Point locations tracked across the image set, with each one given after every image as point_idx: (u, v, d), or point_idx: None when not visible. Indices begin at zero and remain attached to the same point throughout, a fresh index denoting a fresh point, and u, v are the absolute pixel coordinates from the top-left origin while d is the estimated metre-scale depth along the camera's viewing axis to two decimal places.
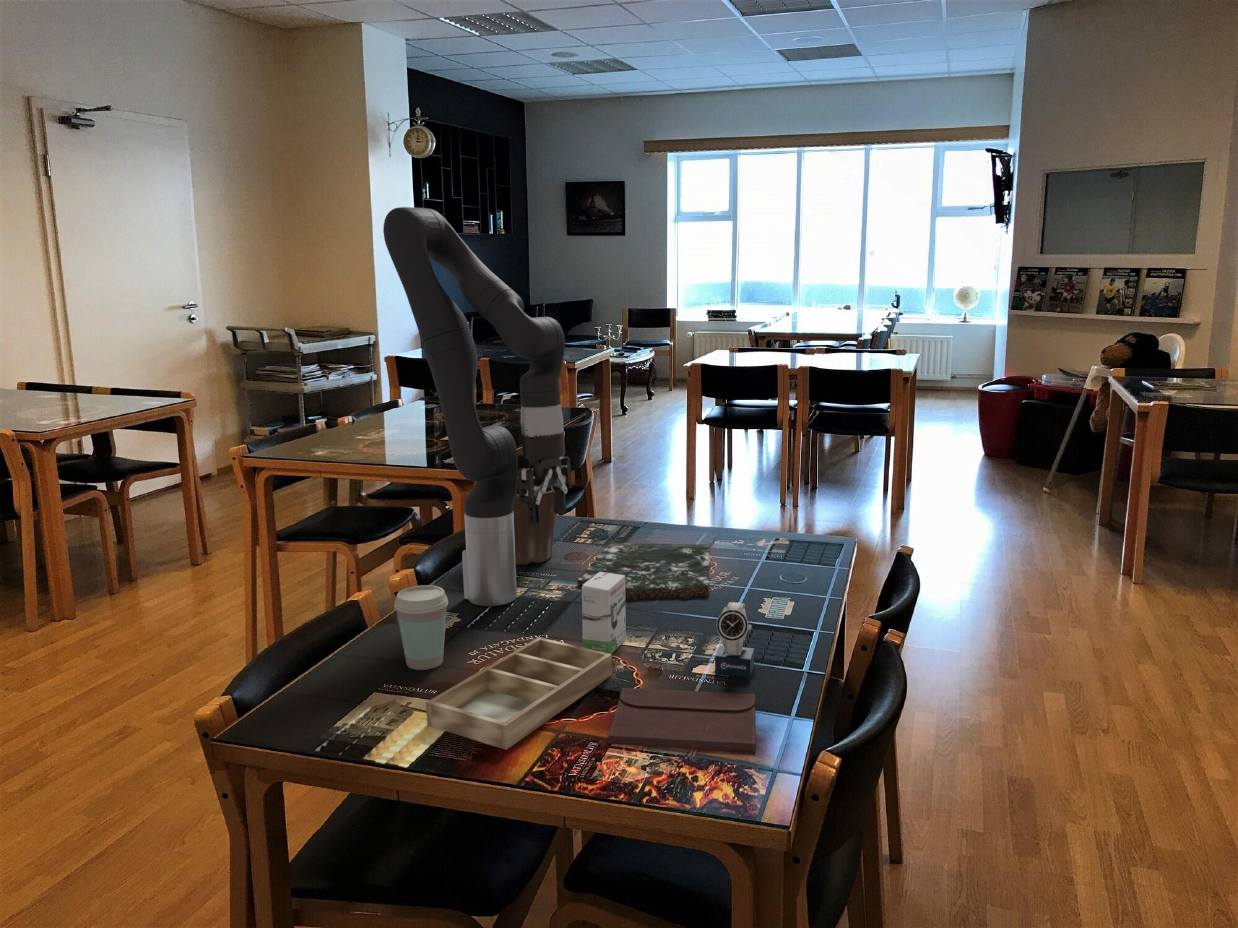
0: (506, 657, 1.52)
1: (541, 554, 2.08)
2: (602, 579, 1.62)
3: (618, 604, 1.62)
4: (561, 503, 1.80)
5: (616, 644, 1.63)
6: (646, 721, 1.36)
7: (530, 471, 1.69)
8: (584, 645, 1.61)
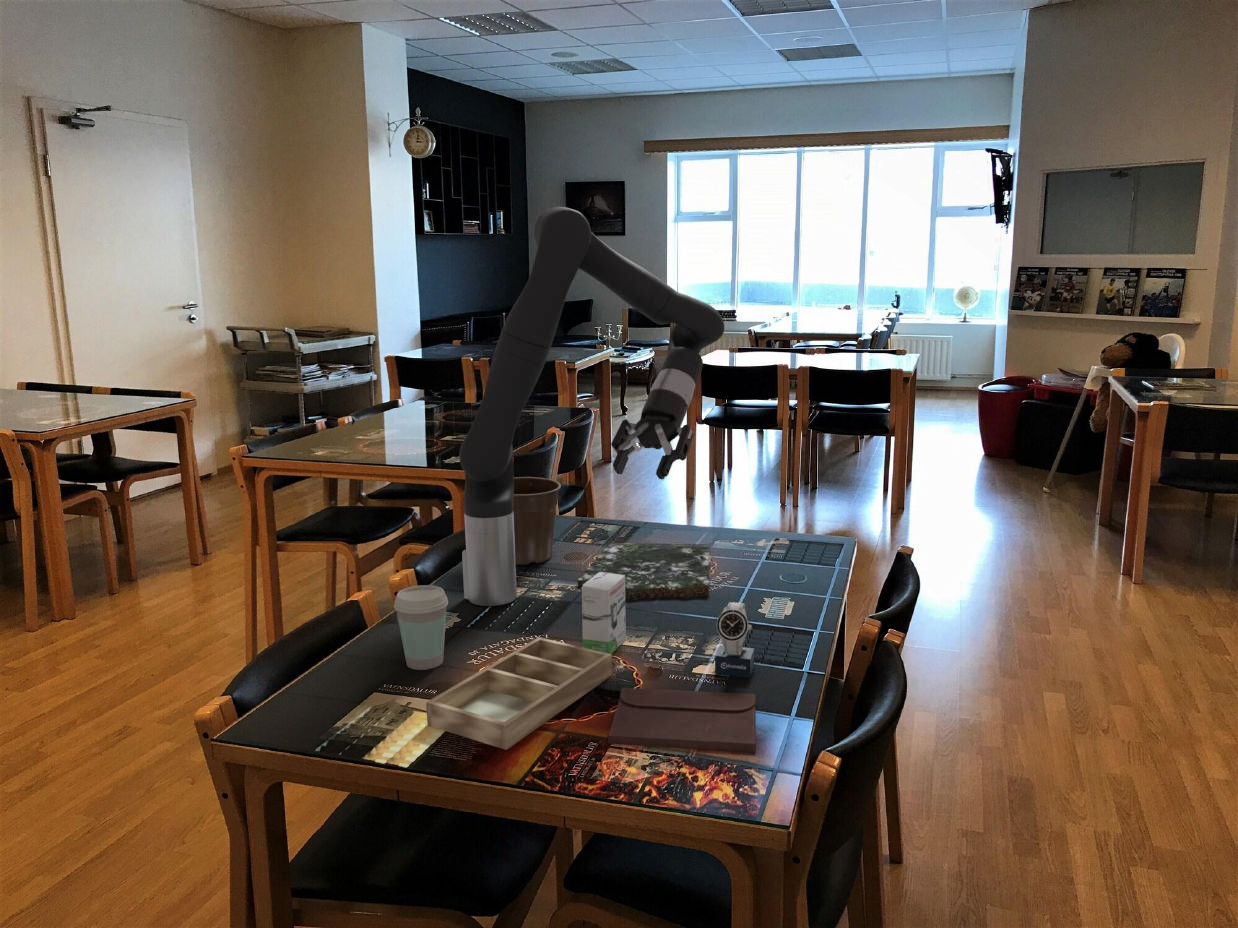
0: (506, 657, 1.52)
1: (541, 554, 2.08)
2: (602, 579, 1.62)
3: (618, 604, 1.62)
4: (624, 464, 1.74)
5: (616, 644, 1.63)
6: (646, 721, 1.36)
7: None
8: (584, 645, 1.61)
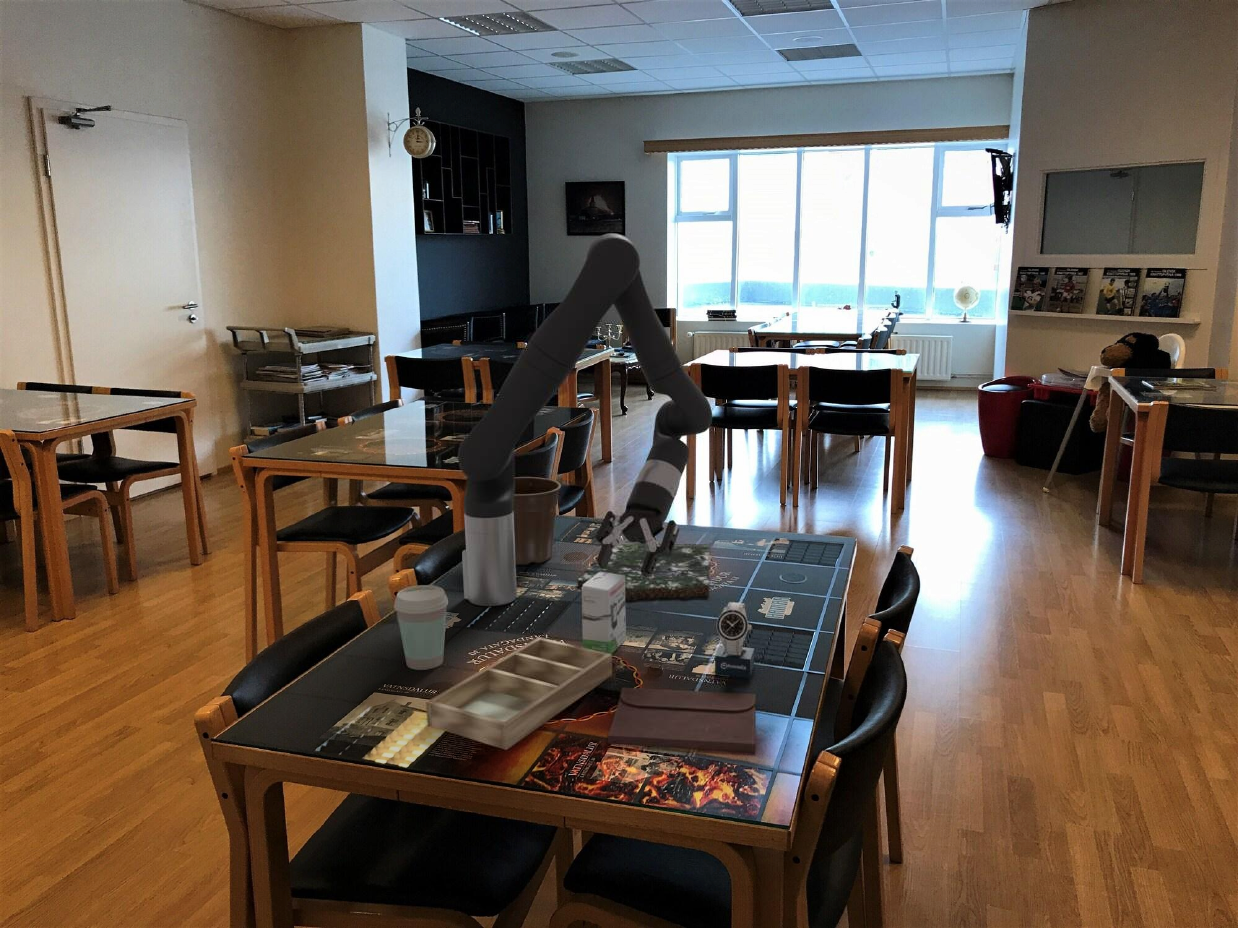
0: (506, 657, 1.52)
1: (541, 554, 2.08)
2: (602, 579, 1.62)
3: (618, 604, 1.62)
4: (608, 558, 1.70)
5: (616, 644, 1.63)
6: (646, 721, 1.36)
7: None
8: (584, 645, 1.61)
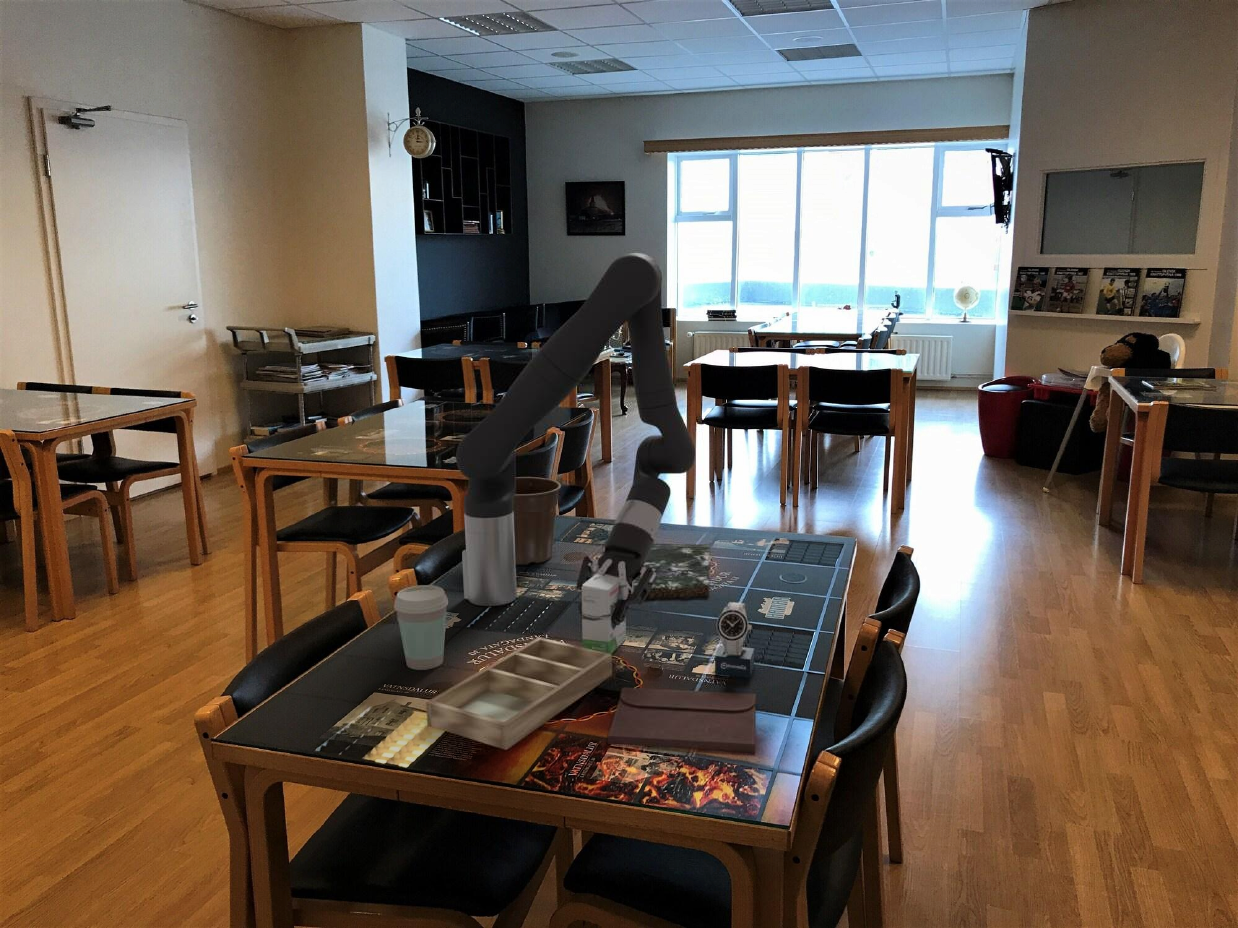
0: (506, 657, 1.52)
1: (541, 554, 2.08)
2: (602, 579, 1.62)
3: None
4: None
5: (616, 644, 1.63)
6: (646, 722, 1.36)
7: None
8: (584, 645, 1.61)
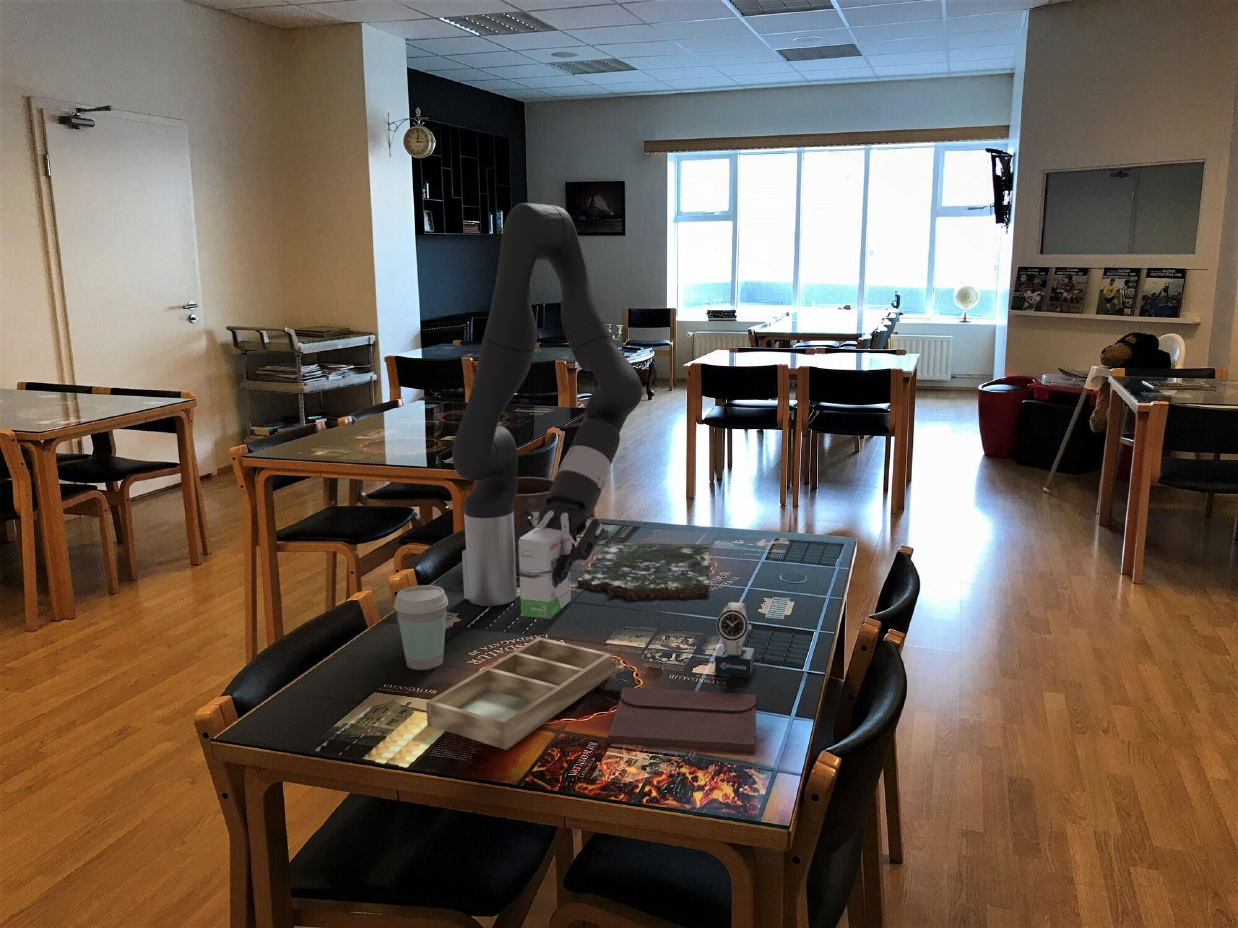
0: (506, 657, 1.52)
1: None
2: (542, 532, 1.45)
3: None
4: None
5: (559, 605, 1.45)
6: (646, 721, 1.36)
7: None
8: (522, 606, 1.43)
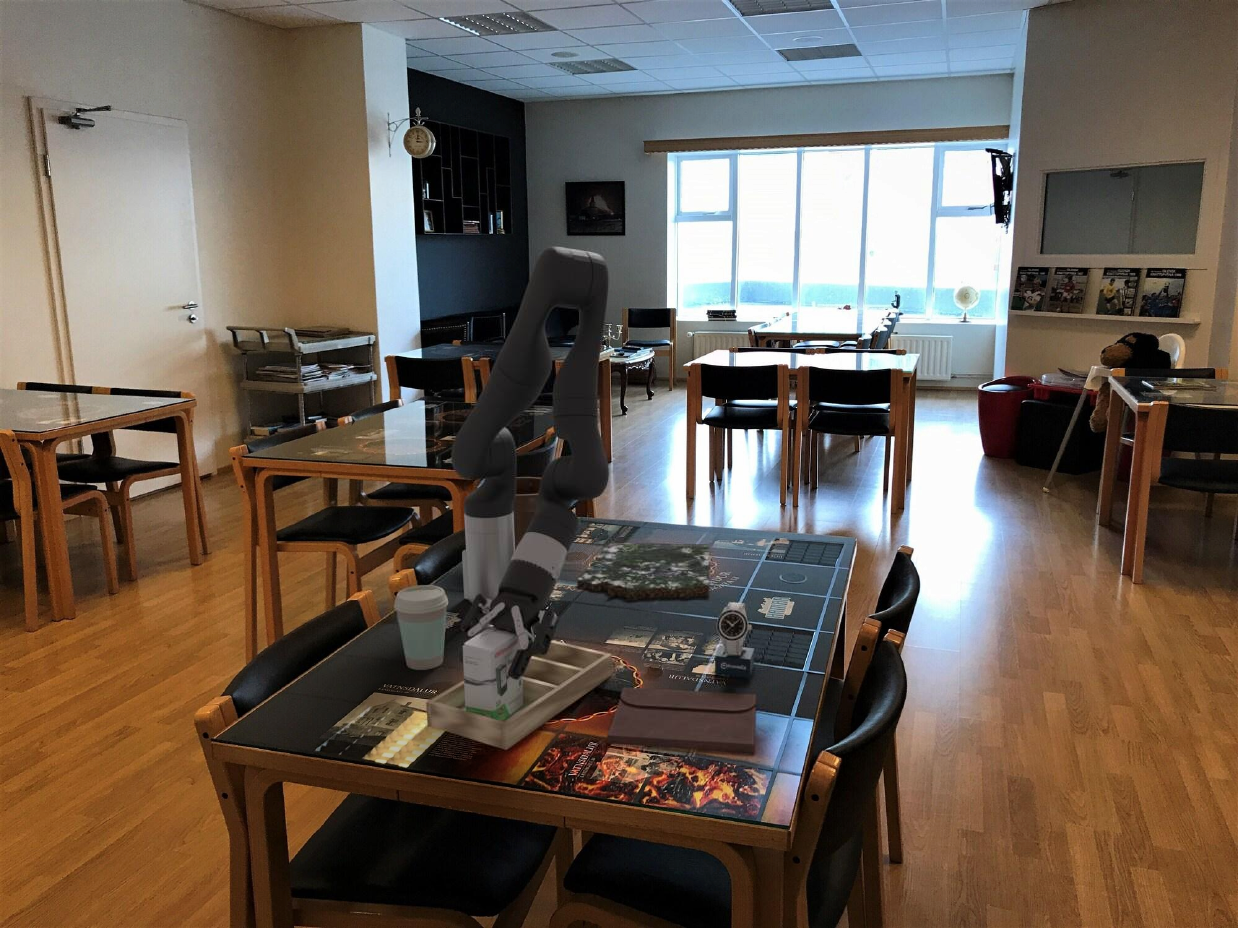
0: None
1: None
2: (491, 636, 1.38)
3: (508, 665, 1.38)
4: None
5: (506, 712, 1.39)
6: (646, 721, 1.36)
7: None
8: None
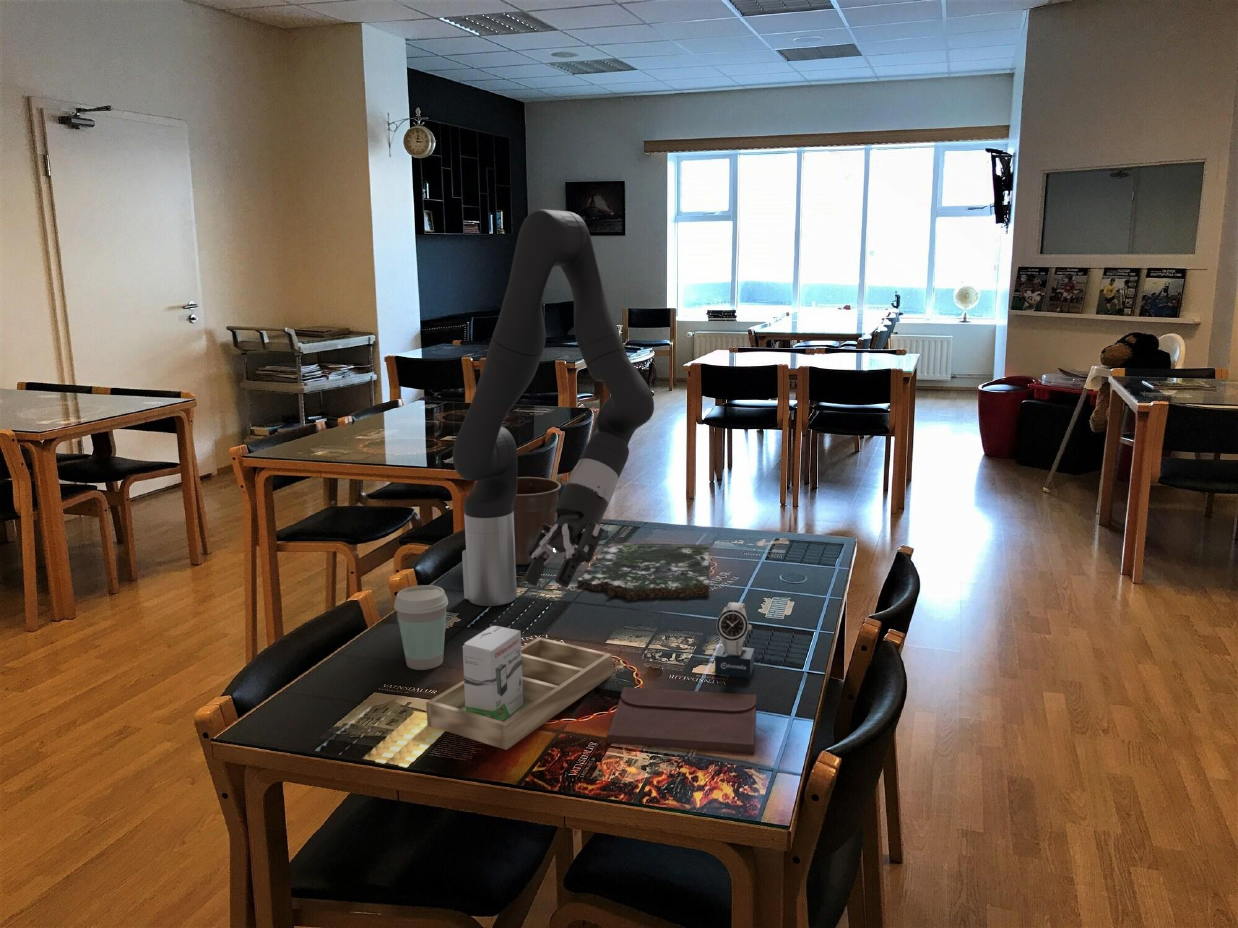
0: None
1: None
2: (491, 636, 1.38)
3: (508, 665, 1.38)
4: (538, 573, 1.53)
5: (506, 712, 1.39)
6: (646, 721, 1.36)
7: None
8: None
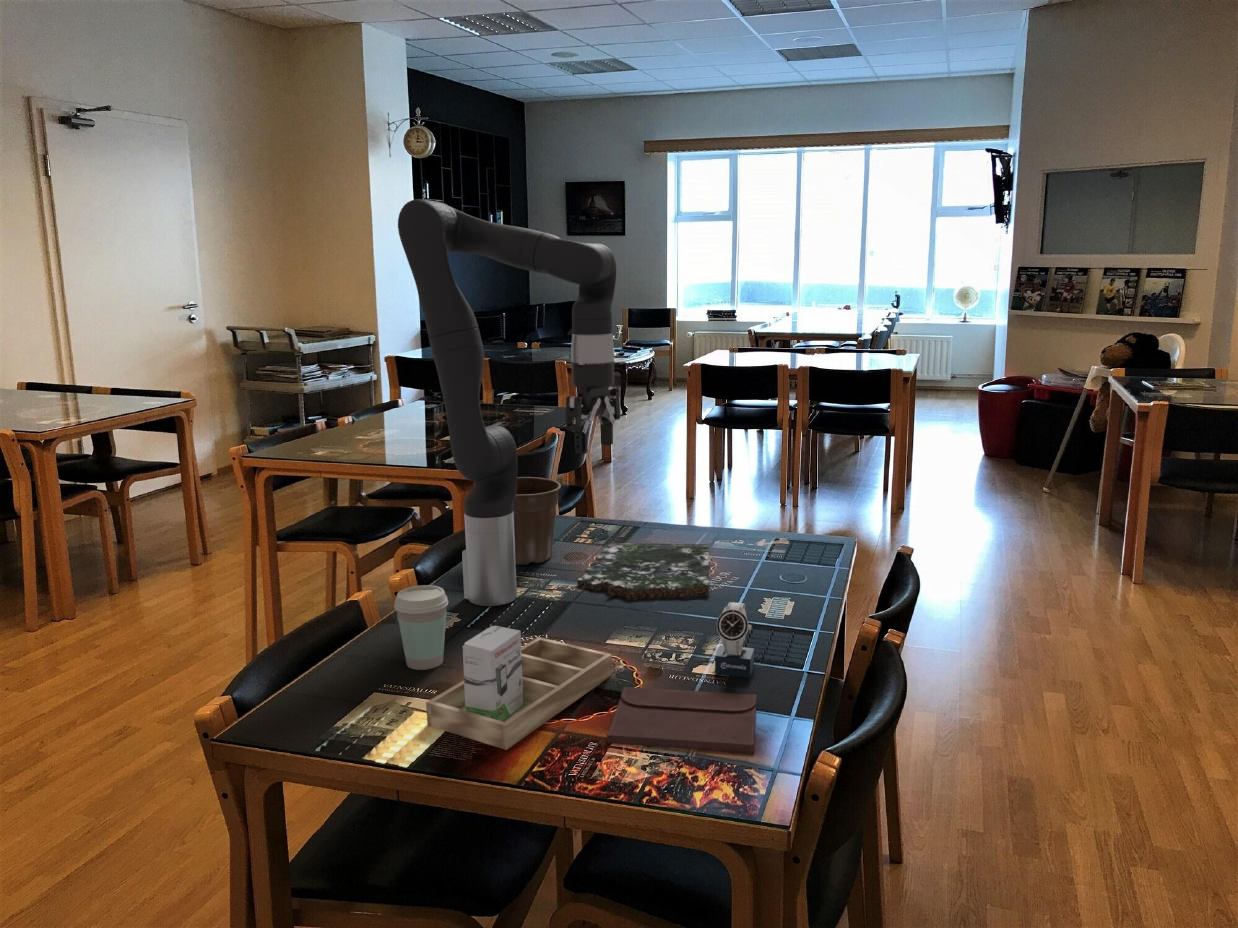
0: None
1: (541, 554, 2.08)
2: (491, 636, 1.38)
3: (508, 665, 1.38)
4: (608, 434, 1.79)
5: (506, 712, 1.39)
6: (646, 721, 1.36)
7: (578, 399, 1.68)
8: None
